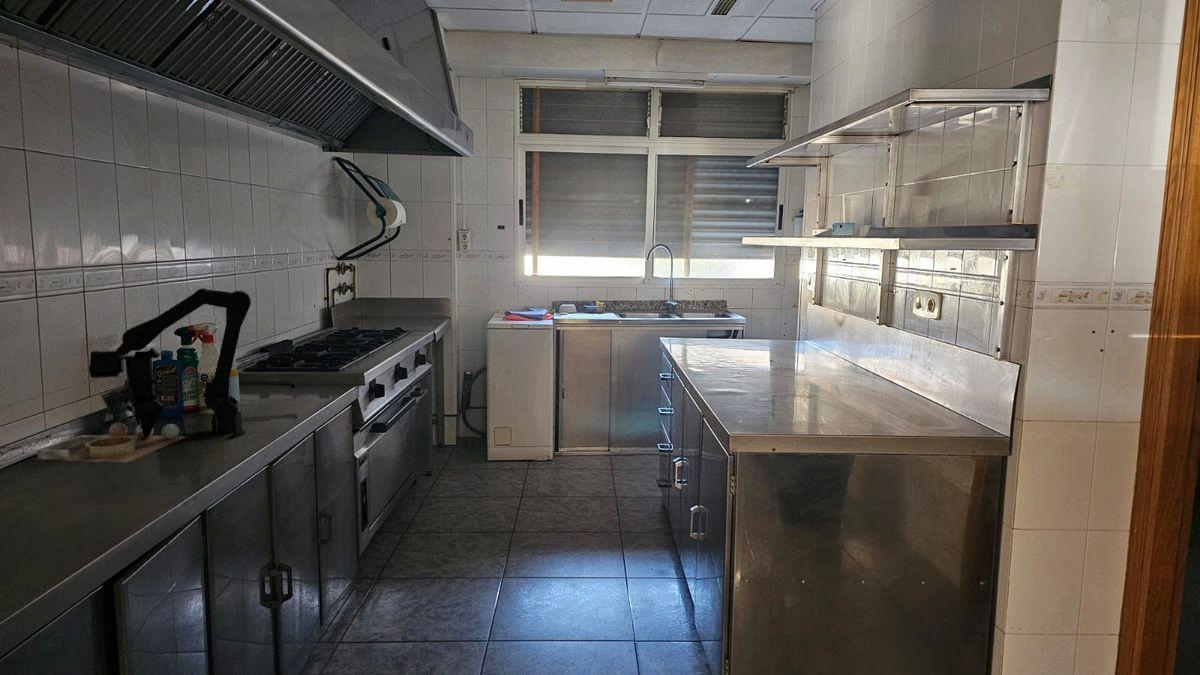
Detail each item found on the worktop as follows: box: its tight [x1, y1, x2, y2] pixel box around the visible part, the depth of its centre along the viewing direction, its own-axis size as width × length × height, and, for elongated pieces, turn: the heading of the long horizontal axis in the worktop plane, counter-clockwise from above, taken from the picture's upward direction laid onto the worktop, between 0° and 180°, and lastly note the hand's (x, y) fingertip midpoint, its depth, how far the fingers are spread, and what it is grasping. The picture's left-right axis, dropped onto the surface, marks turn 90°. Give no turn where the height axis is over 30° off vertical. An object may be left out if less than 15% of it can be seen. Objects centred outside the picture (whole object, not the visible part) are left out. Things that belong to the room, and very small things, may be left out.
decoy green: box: [160, 423, 180, 440], centre depth 188 cm, size 4×4×4 cm
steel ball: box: [134, 425, 154, 439], centre depth 189 cm, size 4×4×4 cm
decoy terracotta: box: [108, 422, 128, 437], centre depth 189 cm, size 4×4×4 cm
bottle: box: [230, 357, 241, 404], centre depth 231 cm, size 7×7×15 cm
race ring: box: [85, 436, 136, 458], centre depth 177 cm, size 10×10×2 cm
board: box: [34, 433, 188, 463], centre depth 181 cm, size 23×22×3 cm
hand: (144, 434), depth 189 cm, fingers open, 5 cm apart
